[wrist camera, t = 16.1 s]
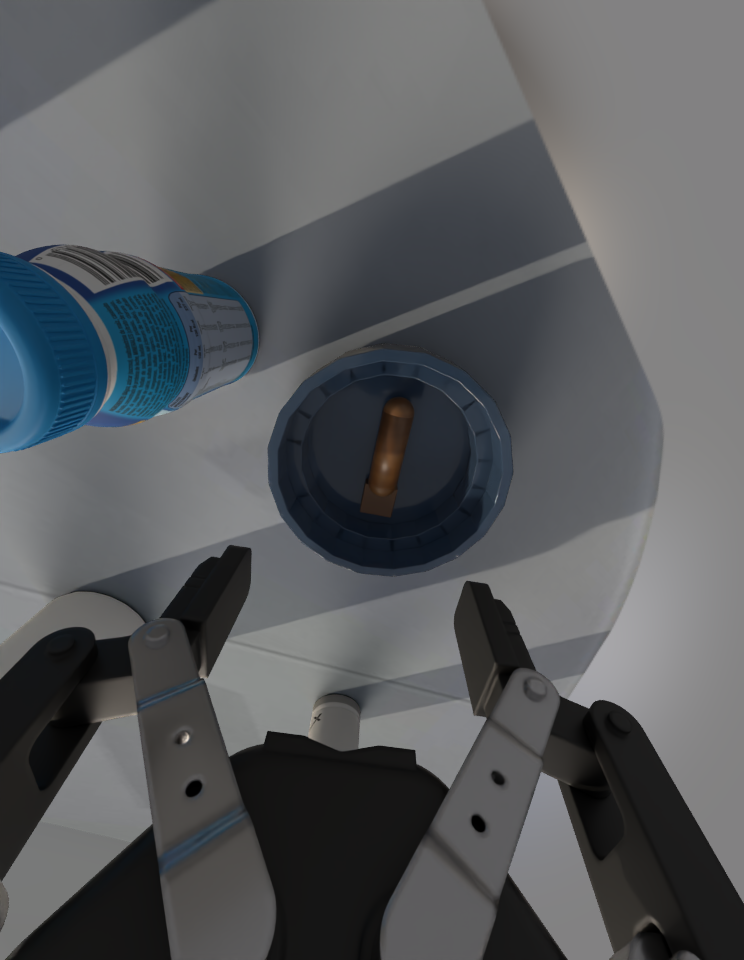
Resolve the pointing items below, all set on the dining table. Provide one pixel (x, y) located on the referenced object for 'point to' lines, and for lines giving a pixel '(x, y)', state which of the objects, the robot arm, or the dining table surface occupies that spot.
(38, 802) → the robot arm
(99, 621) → the can
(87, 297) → the beverage bottle
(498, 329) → the dining table surface
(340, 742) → the travel mug
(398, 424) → the brown rounded bar
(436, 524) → the bowl
